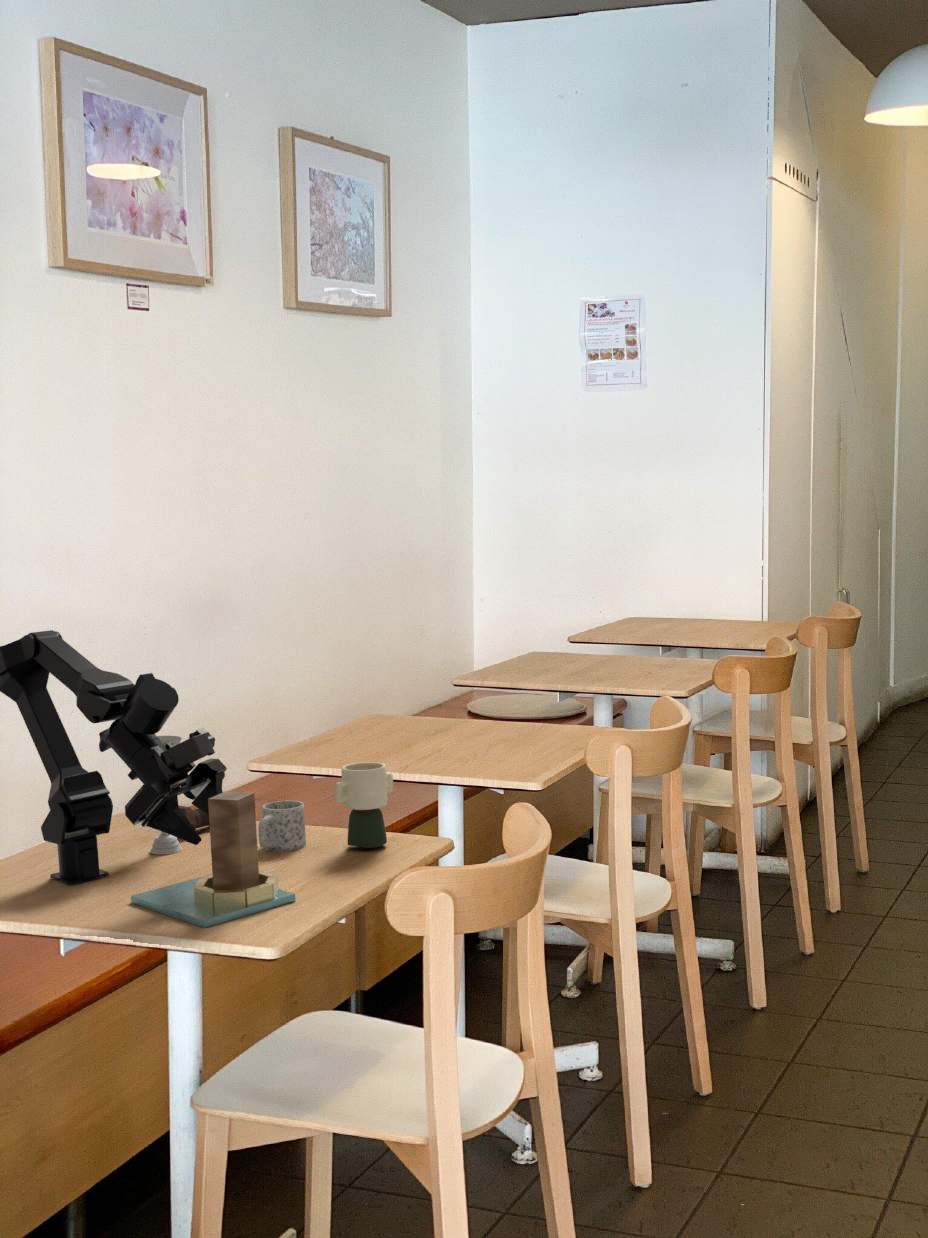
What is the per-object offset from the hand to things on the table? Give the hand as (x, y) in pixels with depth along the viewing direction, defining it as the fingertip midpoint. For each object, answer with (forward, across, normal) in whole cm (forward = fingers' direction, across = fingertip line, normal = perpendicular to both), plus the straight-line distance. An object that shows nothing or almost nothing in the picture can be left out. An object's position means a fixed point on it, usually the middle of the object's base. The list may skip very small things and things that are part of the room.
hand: (216, 834), depth 193 cm
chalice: (-9, +22, +23) cm, 34 cm away
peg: (+8, 0, +4) cm, 9 cm away
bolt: (-9, +38, +24) cm, 46 cm away
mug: (+3, +27, +11) cm, 30 cm away
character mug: (+13, +31, +1) cm, 33 cm away
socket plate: (+6, -1, +7) cm, 10 cm away
